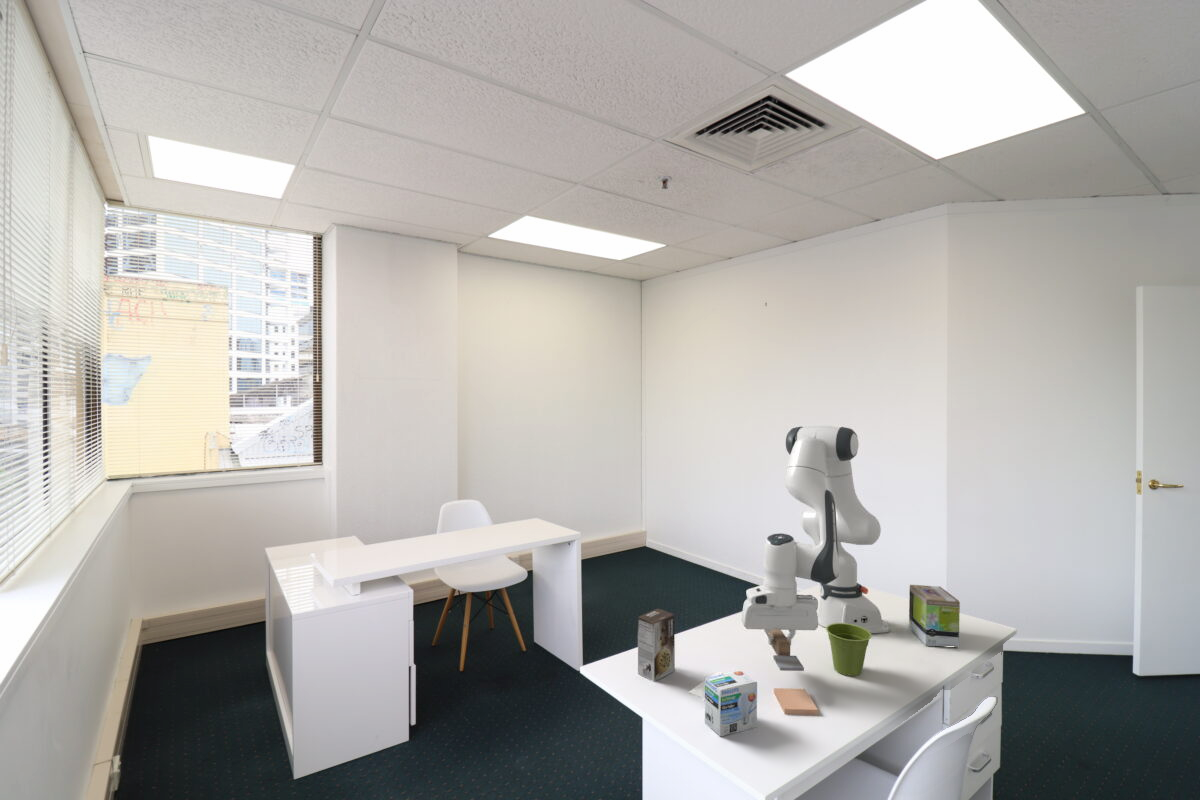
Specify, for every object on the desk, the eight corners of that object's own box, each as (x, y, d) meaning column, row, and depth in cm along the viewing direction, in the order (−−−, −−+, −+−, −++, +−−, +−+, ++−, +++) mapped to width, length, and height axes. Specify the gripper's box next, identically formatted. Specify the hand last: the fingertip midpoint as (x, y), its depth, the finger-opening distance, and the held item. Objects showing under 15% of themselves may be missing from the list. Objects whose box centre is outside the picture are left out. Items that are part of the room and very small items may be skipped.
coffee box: (657, 663, 168) (657, 607, 168) (675, 671, 163) (675, 613, 163) (636, 674, 162) (636, 616, 162) (654, 682, 157) (654, 622, 157)
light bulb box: (720, 737, 132) (720, 690, 132) (703, 722, 138) (703, 677, 138) (758, 727, 136) (758, 681, 136) (740, 712, 142) (740, 668, 142)
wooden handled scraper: (764, 642, 166) (764, 628, 166) (785, 642, 166) (785, 628, 166) (780, 670, 149) (780, 654, 149) (804, 671, 149) (804, 655, 149)
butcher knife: (734, 680, 159) (734, 676, 159) (705, 702, 148) (705, 697, 148) (717, 673, 163) (717, 669, 163) (688, 694, 151) (688, 690, 151)
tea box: (960, 649, 178) (960, 600, 178) (925, 646, 180) (925, 598, 180) (940, 629, 193) (940, 585, 193) (907, 627, 195) (908, 583, 194)
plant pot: (820, 673, 162) (820, 632, 162) (832, 657, 172) (832, 619, 172) (865, 685, 155) (865, 643, 155) (875, 669, 165) (875, 629, 165)
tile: (804, 688, 151) (817, 709, 141) (804, 695, 151) (817, 716, 141) (773, 688, 152) (784, 709, 142) (773, 694, 152) (784, 716, 142)
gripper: (814, 591, 163) (813, 640, 163) (740, 590, 164) (740, 638, 164) (821, 599, 157) (821, 650, 157) (745, 597, 158) (745, 648, 158)
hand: (779, 644), depth 161 cm, fingers closed on wooden handled scraper, 3 cm apart
